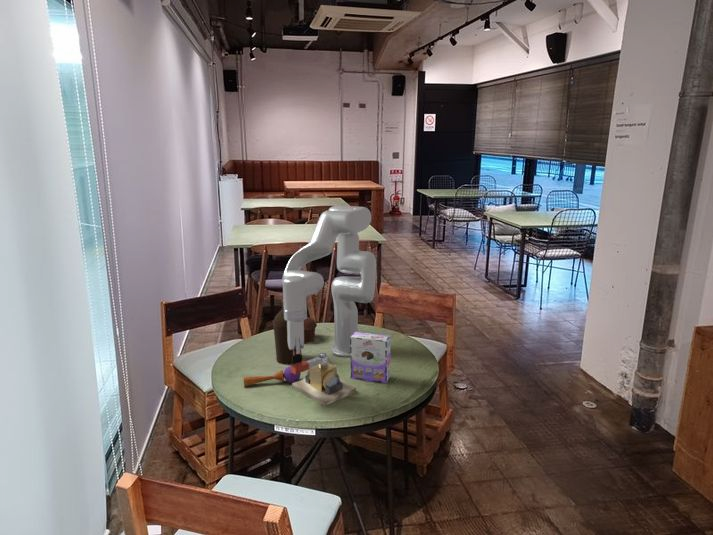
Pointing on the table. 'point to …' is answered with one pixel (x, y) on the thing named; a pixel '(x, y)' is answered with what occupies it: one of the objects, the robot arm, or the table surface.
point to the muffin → (309, 330)
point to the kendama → (273, 377)
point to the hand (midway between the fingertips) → (297, 364)
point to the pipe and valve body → (324, 379)
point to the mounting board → (322, 396)
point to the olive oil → (281, 338)
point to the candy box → (370, 357)
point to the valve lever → (310, 364)
